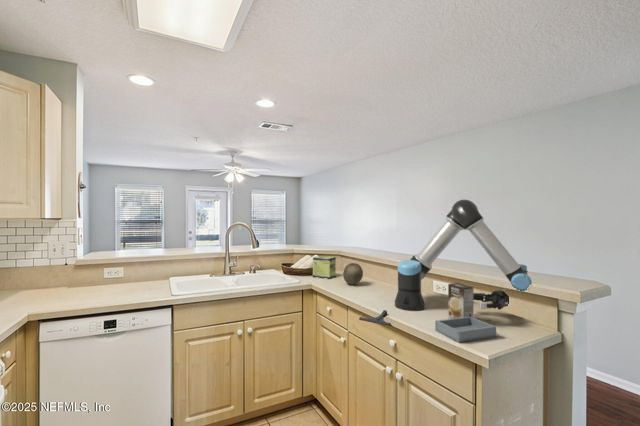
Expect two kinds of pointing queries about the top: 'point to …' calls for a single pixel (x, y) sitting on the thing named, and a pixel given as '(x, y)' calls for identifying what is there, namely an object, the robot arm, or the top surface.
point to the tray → (465, 329)
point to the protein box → (324, 267)
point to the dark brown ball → (353, 273)
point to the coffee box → (460, 301)
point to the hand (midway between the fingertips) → (467, 301)
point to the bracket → (377, 319)
